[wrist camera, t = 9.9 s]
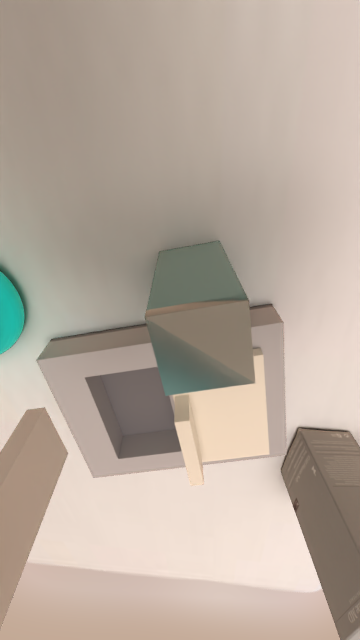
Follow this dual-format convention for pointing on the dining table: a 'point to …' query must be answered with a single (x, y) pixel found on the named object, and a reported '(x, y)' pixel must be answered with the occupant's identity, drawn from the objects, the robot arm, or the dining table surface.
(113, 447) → the socket plate
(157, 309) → the green rectangular box
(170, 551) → the dining table surface
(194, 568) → the dining table surface
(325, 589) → the skincare box
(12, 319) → the donuts
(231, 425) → the shutter
